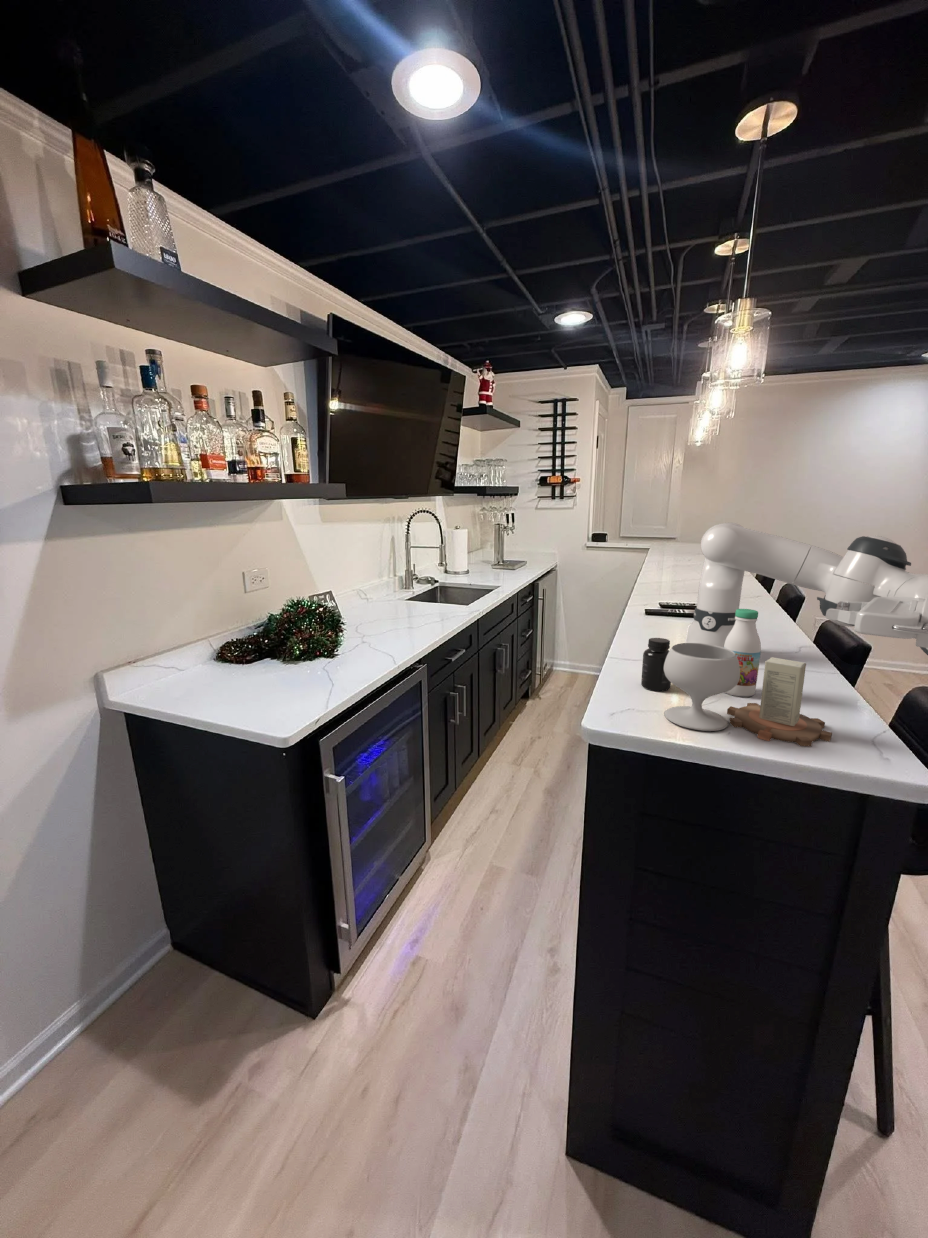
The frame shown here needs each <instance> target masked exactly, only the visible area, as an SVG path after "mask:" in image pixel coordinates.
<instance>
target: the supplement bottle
mask: <svg viewBox="0 0 928 1238" xmlns="http://www.w3.org/2000/svg"><path fill="white" fill-rule="evenodd" d="M670 644H671V641H670V640H669V639H668V638H663V637H650V638H648V644H647V647H648V648H647V649H645V650H644V651H643V653H642V664H641V665H642V668H641V682H640V683H641V687H643V688H644V689H645V690H649V691H653V692H666V691H668V690H670V689H671V686H672V683H671V682H670V681H669V680H668V679H667V677H666V676H665V672H664V663H665V660H666V657H667V655H668V653H669V651H670V649H671V646H670Z"/></svg>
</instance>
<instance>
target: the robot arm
mask: <svg viewBox="0 0 928 1238" xmlns="http://www.w3.org/2000/svg"><path fill="white" fill-rule="evenodd" d="M700 539H701V540H700V550H701V553H702V555H703V557H704V560H703V565H702V570H701V574H700V578H699V582H698V583H699V584H698V593H697V600H696V607H694V612H693V620H694V621H692V622H690V624H688V626H687V630H686V636H685V642H684V643H701V644H709V645H715V646H720V647H723V648H724V644H725V640H726V638H727V636H728V634H729V633H730V631H731V630H732V628H733V626H734V624H735V621H736V619H735V612H736V610H737V609H740V604H741V597H742V589H743V588H742V587H743V581H744V576H745V572H748V573H752V574H757V575H760V576H763V577H767V578H770V579H773V580H776V581H780V582H783V583H787V584H790V585H793V586H796V587H799V588H800V587H801V588H803V589H807V590H814V591H819V592H823V593H825V595H824V597H823V598H822V597H820V596H817V597H816V600H817V601H819V609H820V612H821V614H822V616H824V617H825V618H826V619H827V620H829V621H831V622H832V623H834V624H836V625H839V626H842V627H854V628H853V630H854V632H855V633H857V634H862V635H867V636H868V635H869V636H876V637H882V638H883V637H885V638H893V639H903V640H904V639H905V640H906V639H907V640H908V639H909V640H910V639H914V640H915V639H916V640H915V646H916V647H919V648H920V650H922V651H923V653H925V655H927V656H928V574H927V573H913V572H908V571H906V570H907V567H906V566H909V567H911V566H912V562H910V561H908V556H907V553H906V551H905V550H904V548H903V546H901V545H900V544H897V543H896V542H895V541H894V540H892V539H890V538H887V537H885V536H879V535H868V536H864V535H863V536H858V537H856V538H855V539H854V540H853V541H852V542H851V543H850V544H849V546H848V547H847V551H846V553H845V554H844V556H842V555H840V554H837V553H835V552H832V551H830V550H828V549H825V548H823V547H820V546H816V545H812V544H809V543H806V542H801V541H798V540H794V539H791V538H787V537H783V536H780V535H775V534H770V533H766V532H763V531H758V530H755V529H751V528H746V527H744V526H742V525H741V524H739V523H737V522H724V523H718V524H715V525H713V526H711V527H709V528H708V529H707V530H706V531H705V533H703V535H702V537H701V538H700Z"/></svg>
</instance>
